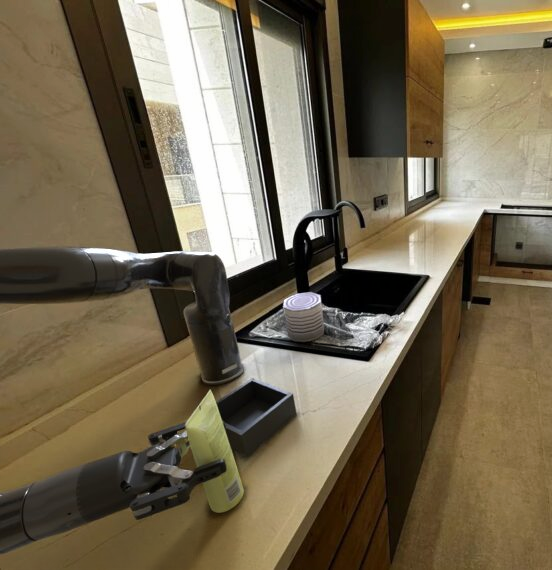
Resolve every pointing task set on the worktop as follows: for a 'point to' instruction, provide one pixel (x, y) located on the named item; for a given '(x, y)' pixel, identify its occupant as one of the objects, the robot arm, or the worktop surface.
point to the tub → (254, 414)
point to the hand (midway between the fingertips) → (225, 443)
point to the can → (304, 316)
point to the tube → (214, 454)
